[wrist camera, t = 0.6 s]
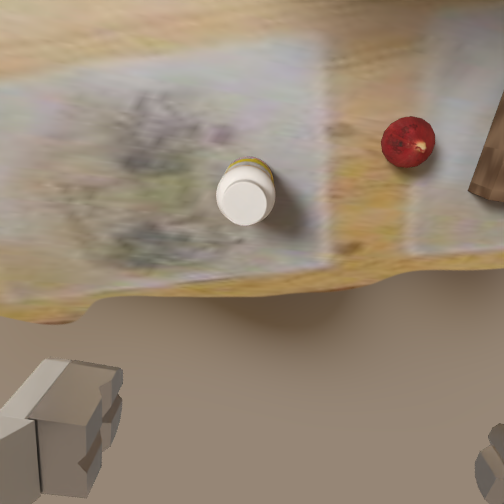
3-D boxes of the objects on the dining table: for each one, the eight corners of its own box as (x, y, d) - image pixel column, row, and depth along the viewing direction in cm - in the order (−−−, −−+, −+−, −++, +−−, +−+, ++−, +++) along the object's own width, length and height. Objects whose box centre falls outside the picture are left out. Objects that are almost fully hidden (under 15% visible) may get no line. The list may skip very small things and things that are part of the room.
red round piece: (368, 158, 49) (387, 168, 42) (381, 111, 47) (404, 113, 39) (411, 166, 49) (438, 177, 42) (427, 120, 47) (457, 123, 40)
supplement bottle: (255, 214, 52) (252, 247, 40) (214, 187, 51) (199, 213, 39) (283, 173, 50) (289, 196, 38) (241, 145, 49) (234, 158, 37)
